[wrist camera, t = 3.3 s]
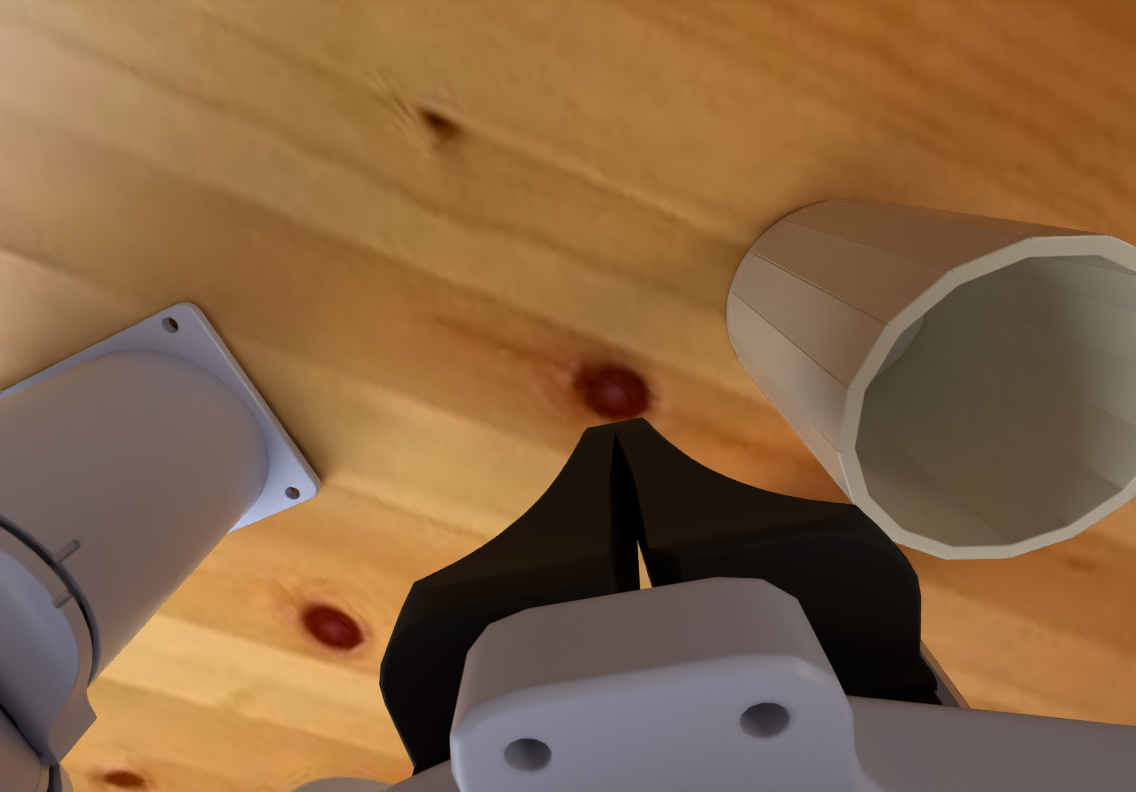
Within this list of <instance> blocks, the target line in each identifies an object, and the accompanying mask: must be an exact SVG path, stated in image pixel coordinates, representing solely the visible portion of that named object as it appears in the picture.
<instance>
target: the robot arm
mask: <svg viewBox="0 0 1136 792" xmlns="http://www.w3.org/2000/svg"><path fill="white" fill-rule="evenodd" d="M170 318H172V319H174V320H175V321H176V322H177V324H178V329H175V328H173V327H172V326H171V324H170V322H169V320H170ZM290 487H294V488H296V489H297V490H298V491H299V494H297V493H294V492H293V491H292V490H291V488H290ZM320 489H321V482H320V480H319V478H318V476H317V475H316V474H315V472H314V471H313V469H312V468H311V466H310V465H309V464H308V462H307V461H306V459H305V458H304V456H303V455H302V454H301V452H300V451H299V449H298V448H297V447H296V445H295V444H294V442H293V441H292V439H291V438H290V437H289V435H288V434H287V432H286V431H285V429H284V428H283V427H282V425H281V424H280V422H279V421H278V419H277V418H276V417H275V415H274V414H273V412H272V411H271V409H270V408H269V407H268V405H267V404H266V402H265V401H264V399H263V398H262V397H261V395H260V394H259V392H258V391H257V390H256V388H255V387H254V385H253V384H252V382H251V381H250V380H249V378H248V377H247V375H246V374H245V372H244V371H243V370H242V368H241V367H240V365H239V364H238V362H237V361H236V360H235V358H234V357H233V355H232V354H231V352H230V351H229V350H228V348H227V347H226V345H225V344H224V342H223V341H222V340H221V338H220V337H219V335H218V334H217V333H216V331H215V330H214V328H213V327H212V325H211V324H210V323H209V321H208V320H207V318H206V317H205V315H204V314H203V313H202V311H201V310H200V309H199V308H198V307H197V306H196V305H194V304H192V303H190V302H181V303H178V304H175V305H173V306H171V307H169V308H167V309H165V310H163V311H161V312H159V313H157V314H155V315H153V316H151V317H149V318H147V319H145V320H143V321H141V322H139V323H137V324H135V325H133V326H131V327H129V328H127V329H125V330H123V331H121V332H119V333H117V334H115V335H113V336H111V337H109V338H107V339H105V340H103V341H101V342H99V343H97V344H95V345H93V346H91V347H89V348H87V349H85V350H83V351H81V352H79V353H77V354H75V355H73V356H71V357H69V358H67V359H65V360H63V361H61V362H59V363H57V364H55V365H53V366H51V367H49V368H47V369H45V370H43V371H41V372H39V373H37V374H35V375H33V376H31V377H29V378H27V379H25V380H23V381H21V382H19V383H17V384H15V385H13V386H11V387H9V388H7V389H5V390H3V391H1V392H0V792H73V786H72V783H71V780H70V777H69V775H68V773H67V771H66V770H65V769H64V768H63V766H62V765H61V764H60V762H61V760H62V759H63V758H64V757H65V756H66V754H67V753H68V752H69V751H70V750H71V748H72V747H73V746H74V745H75V744H76V742H77V741H78V740H79V739H80V738H81V737H82V735H83V734H84V733H85V732H86V731H87V729H88V728H89V727H90V726H91V725H92V723H93V722H94V721H95V720H96V718H97V717H96V714H95V712H94V711H93V709H92V707H91V706H90V703H89V700H88V697H87V688H88V687H89V686H90V685H91V684H92V683H93V682H94V680H95V679H96V678H97V677H98V676H99V675H100V674H101V673H102V672H103V670H104V669H105V668H106V667H107V666H108V665H109V664H110V663H111V662H112V661H113V659H114V658H115V657H116V656H117V655H118V654H119V653H120V652H121V651H122V649H123V648H124V647H125V646H126V645H127V644H128V643H129V642H130V641H131V640H132V638H133V637H134V636H135V635H136V634H137V633H138V632H139V631H140V630H141V628H142V627H143V626H144V625H145V624H146V623H147V622H148V621H149V620H150V618H151V617H152V616H153V615H154V614H155V613H156V612H157V611H158V610H159V609H160V607H161V606H162V605H163V604H164V603H165V602H166V601H167V600H168V599H169V597H170V596H171V595H172V594H173V593H174V592H175V591H176V590H177V589H178V588H179V586H180V585H181V584H182V583H183V582H184V581H185V580H186V579H187V578H188V576H189V575H190V574H191V573H192V572H193V571H194V570H195V569H196V568H197V567H198V565H199V564H200V563H201V562H202V561H203V560H204V559H205V558H206V557H207V555H208V554H209V553H210V552H211V551H212V550H213V549H214V548H215V547H216V546H217V544H218V543H219V542H220V541H221V540H222V539H223V538H224V537H225V536H226V534H228V533H230V532H232V531H235V530H237V529H240V528H242V527H244V526H247V525H249V524H252V523H254V522H256V521H259V520H261V519H264V518H266V517H268V516H271V515H273V514H276V513H278V512H280V511H283V510H285V509H288V508H290V507H292V506H295V505H297V504H300V503H302V502H304V501H307V500H309V499H312V498H313V497H315V496H316V495H317V493H318V492H319V490H320ZM637 540H638V543H639V546H640V550H641V553H642V556H643V560H644V563H645V566H646V570H647V573H648V576H649V579H650V583H651V586H652V588H648V589H642V590H640V578H639V560H638V543H637ZM920 642H921V593H920V587H919V581H918V576H917V574H916V573H915V571H914V569H913V568H912V566H911V564H910V562H909V561H908V559H907V557H906V556H905V555H904V554H903V553H902V551H901V550H900V549H899V548H898V547H897V545H896V544H895V543H894V542H893V541H892V539H891V538H890V537H889V536H888V535H887V534H886V533H885V532H884V531H883V530H882V529H881V528H880V527H879V526H878V525H877V524H876V523H875V522H874V521H873V520H872V519H871V518H869V517H868V516H867V515H866V514H865V513H864V512H863V511H862V510H861V509H860V508H859V507H858V506H857V505H854V504H844V503H835V502H825V501H816V500H808V499H802V498H797V497H792V496H787V495H782V494H778V493H774V492H770V491H766V490H762V489H759V488H756V487H753V486H750V485H747V484H744V483H741V482H738V481H736V480H733V479H731V478H728V477H726V476H724V475H722V474H719V473H717V472H715V471H713V470H711V469H709V468H707V467H705V466H703V465H701V464H700V463H698V462H696V461H695V460H693V459H692V458H690V457H689V456H687V455H686V454H684V453H683V452H682V451H680V450H679V449H678V448H676V447H675V446H674V445H673V444H671V443H670V442H669V441H668V440H666V439H665V438H664V437H663V436H662V435H661V434H660V433H659V432H657V431H656V430H655V429H654V428H653V427H652V426H651V425H650V423H649V422H648V421H646V420H645V419H644V418H642V417H641V418H636V419H631V420H626V421H621V422H616V423H610V424H605V425H600V426H595V427H590V428H587V429H586V430H585V431H584V433H583V434H582V436H581V438H580V440H579V442H578V444H577V446H576V448H575V449H574V451H573V453H572V455H571V456H570V458H569V459H568V461H567V463H566V464H565V466H564V467H563V469H562V470H561V472H560V473H559V475H558V476H557V478H556V479H555V480H554V482H553V483H552V484H551V486H550V487H549V488H548V490H547V491H546V492H545V493H544V494H543V495H542V496H541V498H540V499H539V500H538V501H537V502H536V503H535V504H534V505H533V506H532V507H531V508H530V509H529V510H528V511H527V512H526V513H525V514H523V515H522V516H521V517H520V518H519V519H518V520H516V521H515V522H514V523H513V524H511V525H510V526H509V527H508V528H506V529H505V530H504V531H503V532H502V533H500V534H499V535H498V536H496V537H495V538H494V539H492V540H491V541H489V542H488V543H486V544H485V545H483V546H482V547H480V548H479V549H477V550H475V551H474V552H472V553H471V554H469V555H467V556H466V557H464V558H462V559H460V560H459V561H457V562H455V563H453V564H451V565H449V566H447V567H445V568H443V569H441V570H439V571H437V572H435V573H433V574H431V575H429V576H427V577H425V578H423V579H420V580H418V581H416V582H414V584H413V586H412V588H411V590H410V592H409V594H408V596H407V598H406V600H405V602H404V604H403V606H402V609H401V612H400V614H399V617H398V619H397V622H396V624H395V627H394V630H393V633H392V635H391V638H390V641H389V643H388V646H387V649H386V652H385V654H384V657H383V660H382V662H381V668H380V681H379V685H380V689H381V692H382V696H383V699H384V703H385V705H386V707H387V710H388V712H389V714H390V716H391V718H392V720H393V723H394V725H395V727H396V729H397V731H398V733H399V735H400V738H401V740H402V742H403V744H404V746H405V748H406V751H407V753H408V755H409V757H410V759H411V761H412V764H413V766H414V771H413V775H412V777H410V778H407V779H405V780H403V781H401V782H399V783H396V784H394V785H392V786H390V787H388V788H385V789H383V790H381V791H379V792H1136V726H1130V725H1121V724H1112V723H1102V722H1093V721H1083V720H1074V719H1064V718H1055V717H1046V716H1036V715H1027V714H1017V713H1008V712H998V711H989V710H979V709H970V708H961V707H951V706H944V705H943V703H942V702H941V701H940V699H939V698H938V696H937V695H936V693H935V692H934V691H937V685H938V683H937V680H936V678H935V675H934V674H933V672H932V671H931V669H930V668H929V666H928V665H927V663H926V662H925V661H924V659H923V658H922V656H921V655H920Z"/></svg>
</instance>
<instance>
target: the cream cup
mask: <svg viewBox="0 0 1136 792" xmlns="http://www.w3.org/2000/svg"><path fill="white" fill-rule="evenodd" d="M727 328H728V334H729V338H730V342H731V345H732V347H733V350H734V352H735V354H736V356H737V358H738V359H739V362H740V364H741V366H742V368H743V369H744V370H745V371H746V373H747V374H748V375H749V376H750V378H751V379H752V380H753V381H754V382H755V384H756V385H757V386H758V387H759V389H760V390H761V391H762V392H763V394H764V395H765V396H766V397H767V398H768V400H769V401H770V402H771V403H772V405H773V406H774V407H775V408H776V409H777V411H778V412H779V413H780V414H781V416H782V417H783V418H784V419H785V421H786V422H787V423H788V424H789V425H790V427H791V428H792V429H793V430H794V432H795V433H796V434H797V435H798V437H799V438H800V439H801V440H802V441H803V443H804V444H805V445H806V446H807V448H808V449H809V450H810V451H811V453H812V454H813V455H814V456H815V457H816V459H817V460H818V461H819V462H820V464H821V465H822V466H823V467H824V469H825V470H826V471H827V472H828V473H829V475H830V476H831V477H832V478H833V480H834V481H835V482H836V483H837V485H838V486H839V487H840V488H841V489H842V491H843V492H844V493H845V494H846V496H847V497H848V498H849V499H850V500H851V502H852V503H853V504H854V505H857V506H858V507H859V508H860V509H861V510H862V511H863V512H864V513H865V514H866V515H867V516H868V517H869V518H871V519H872V520H873V521H874V522H875V523H876V524H877V525H878V526H879V527H880V528H881V529H882V530H883V531H884V532H885V533H886V534H887V535H888V536H889V537H890V538H891V539H892V541H893V542H896V543H898V544H901V545H904V546H907V547H910V548H913V549H916V550H919V551H922V552H925V553H928V554H931V555H933V556H936V557H939V558H942V559H947V560H958V559H1001V558H1008V557H1009V558H1012V557H1015V556H1018V555H1021V554H1024V553H1027V552H1030V551H1033V550H1036V549H1039V548H1042V547H1045V546H1048V545H1052V544H1055V543H1058V542H1061V541H1064V540H1067V539H1070V538H1073V537H1074V536H1077V535H1078V534H1080V533H1081V532H1083V531H1085V530H1086V529H1088V528H1089V527H1091V526H1092V525H1094V524H1095V523H1097V522H1098V521H1100V520H1101V519H1103V518H1104V517H1106V516H1107V515H1109V514H1111V513H1112V512H1114V511H1115V510H1117V509H1118V508H1120V507H1121V506H1123V505H1124V504H1126V503H1127V502H1129V501H1130V500H1132V499H1133V498H1134V496H1136V246H1134V245H1132V244H1130V243H1128V242H1126V241H1123V240H1121V239H1119V238H1117V237H1114V236H1112V235H1108V234H1102V233H1095V232H1088V231H1082V230H1075V229H1068V228H1061V227H1055V226H1048V225H1041V224H1034V223H1027V222H1021V221H1014V220H1007V219H1000V218H993V217H987V216H980V215H973V214H966V213H959V212H953V211H946V210H939V209H932V208H926V207H919V206H912V205H905V204H898V203H892V202H885V201H878V200H871V199H867V200H857V199H837V200H828V201H824V202H819V203H815V204H812V205H809V206H807V207H804V208H801V209H799V210H797V211H795V212H793V213H791V214H789V215H787V216H786V217H784V218H783V219H781V220H780V221H778V222H777V223H775V224H774V225H773V226H772V227H771V228H769V229H768V230H767V231H766V232H765V233H764V234H763V235H762V236H761V237H760V238H759V239H758V240H757V241H756V242H755V243H754V244H753V245H752V247H751V248H750V250H749V251H748V252H747V254H746V255H745V256H744V258H743V260H742V262H741V264H740V265H739V267H738V269H737V271H736V274H735V276H734V278H733V281H732V284H731V288H730V291H729V295H728V302H727Z"/></svg>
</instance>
